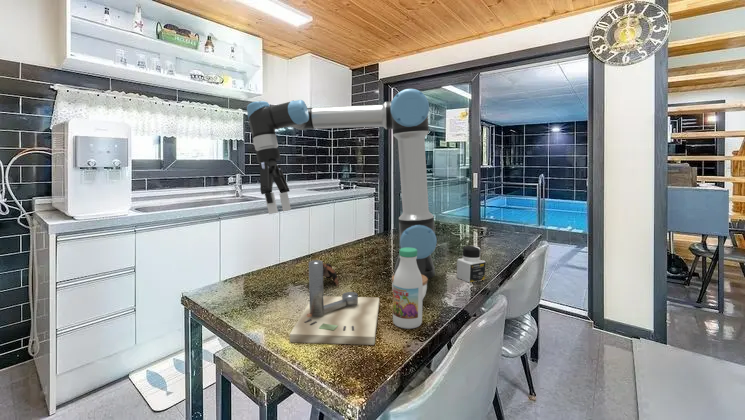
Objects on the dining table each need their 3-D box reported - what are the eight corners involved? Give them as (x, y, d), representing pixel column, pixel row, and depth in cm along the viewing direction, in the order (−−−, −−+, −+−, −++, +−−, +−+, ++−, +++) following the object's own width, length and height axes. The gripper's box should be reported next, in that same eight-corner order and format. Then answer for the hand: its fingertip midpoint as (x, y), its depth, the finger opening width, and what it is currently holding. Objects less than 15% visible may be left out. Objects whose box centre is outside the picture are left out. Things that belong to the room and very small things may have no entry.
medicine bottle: (470, 283, 124) (471, 250, 122) (456, 277, 130) (457, 245, 129) (485, 280, 127) (486, 247, 126) (471, 274, 134) (472, 243, 132)
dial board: (379, 304, 106) (379, 296, 106) (374, 344, 83) (374, 335, 82) (313, 302, 108) (313, 295, 107) (289, 342, 84) (289, 333, 84)
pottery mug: (338, 290, 119) (326, 271, 116) (315, 300, 121) (302, 282, 119) (343, 271, 130) (332, 253, 127) (322, 280, 132) (310, 263, 130)
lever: (351, 298, 104) (351, 251, 102) (361, 303, 100) (360, 254, 98) (303, 314, 93) (301, 262, 91) (312, 319, 90) (310, 266, 88)
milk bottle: (401, 314, 99) (402, 244, 96) (427, 321, 95) (428, 248, 92) (387, 324, 93) (387, 250, 90) (413, 332, 89) (414, 254, 86)
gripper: (270, 155, 131) (282, 211, 132) (239, 147, 106) (255, 217, 107) (289, 151, 130) (301, 207, 131) (263, 142, 105) (278, 212, 106)
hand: (280, 212), depth 119 cm, fingers open, 13 cm apart
